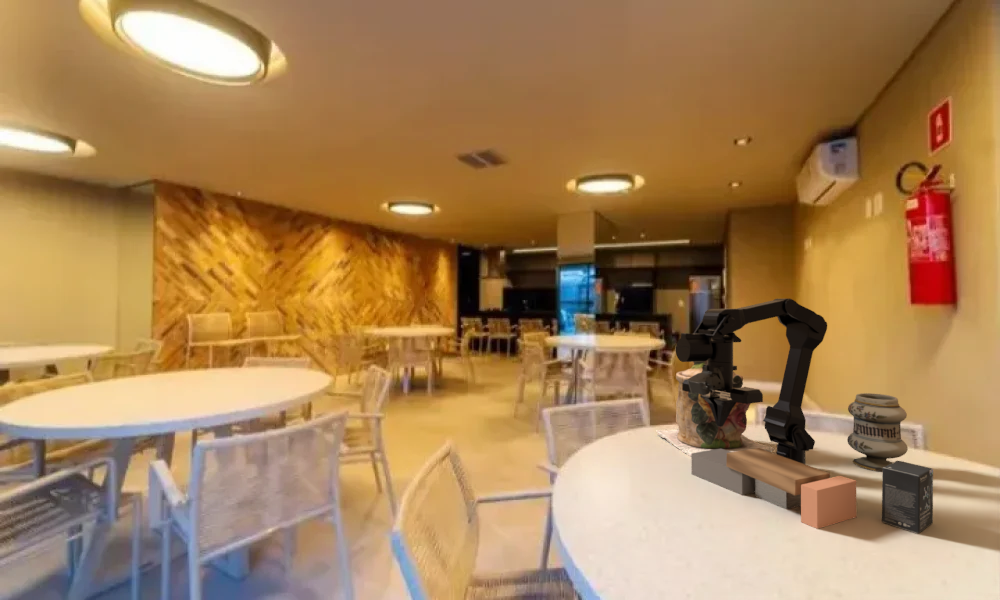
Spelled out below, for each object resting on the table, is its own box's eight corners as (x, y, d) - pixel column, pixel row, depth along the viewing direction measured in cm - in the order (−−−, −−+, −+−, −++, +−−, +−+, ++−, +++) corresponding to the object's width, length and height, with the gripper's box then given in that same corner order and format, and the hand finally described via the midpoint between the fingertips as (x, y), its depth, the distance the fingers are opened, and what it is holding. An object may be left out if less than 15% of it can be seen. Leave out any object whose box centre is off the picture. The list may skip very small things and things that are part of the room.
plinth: (721, 468, 119) (721, 448, 119) (773, 487, 107) (773, 465, 107) (691, 474, 115) (691, 453, 115) (742, 495, 102) (742, 471, 103)
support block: (771, 493, 104) (771, 471, 104) (802, 505, 97) (802, 482, 98) (755, 497, 102) (755, 474, 102) (786, 510, 95) (786, 485, 96)
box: (919, 535, 85) (919, 475, 85) (881, 522, 90) (880, 466, 90) (934, 524, 89) (933, 467, 89) (896, 512, 94) (896, 459, 94)
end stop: (840, 510, 95) (839, 475, 95) (856, 516, 92) (856, 480, 92) (801, 521, 90) (800, 484, 90) (817, 528, 87) (817, 490, 87)
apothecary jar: (855, 470, 118) (855, 398, 118) (841, 456, 129) (841, 390, 129) (916, 477, 114) (916, 402, 114) (896, 462, 125) (896, 393, 125)
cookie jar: (653, 434, 151) (653, 334, 152) (726, 432, 154) (725, 333, 154) (692, 459, 127) (692, 339, 127) (778, 456, 129) (777, 339, 130)
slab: (758, 460, 109) (758, 448, 109) (829, 488, 95) (829, 473, 95) (726, 466, 106) (726, 452, 106) (794, 495, 91) (795, 480, 91)
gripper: (665, 358, 119) (665, 420, 119) (729, 367, 102) (729, 440, 102) (698, 356, 124) (698, 416, 124) (764, 365, 107) (764, 434, 107)
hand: (719, 426), depth 114 cm, fingers closed
